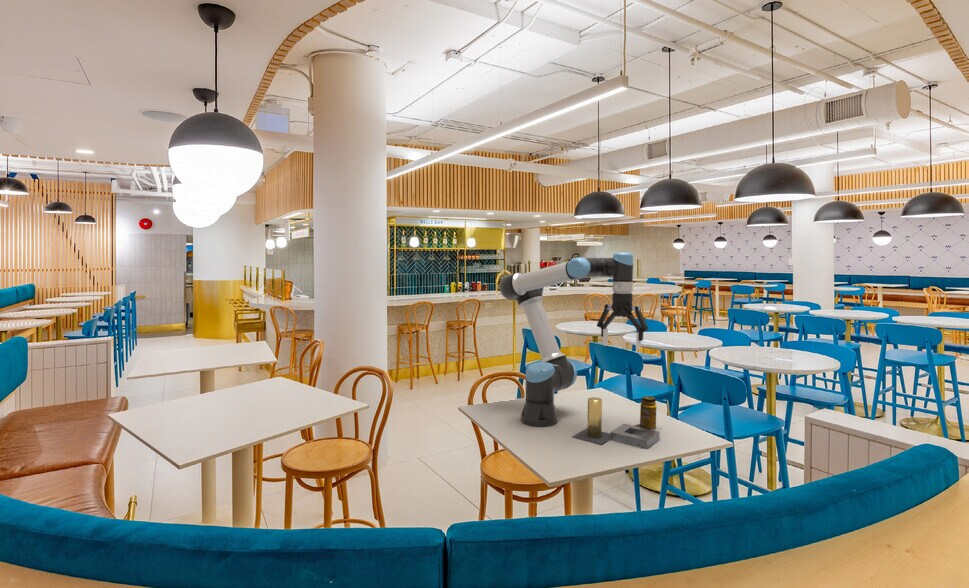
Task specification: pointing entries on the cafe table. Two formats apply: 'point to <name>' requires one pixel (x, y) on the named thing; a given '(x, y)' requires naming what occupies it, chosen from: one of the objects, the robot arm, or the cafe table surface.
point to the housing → (635, 436)
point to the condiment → (648, 413)
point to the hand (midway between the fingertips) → (621, 347)
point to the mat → (600, 441)
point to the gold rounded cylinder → (594, 417)
